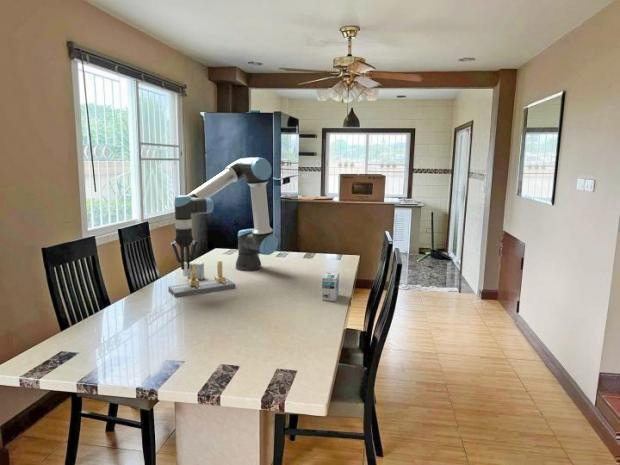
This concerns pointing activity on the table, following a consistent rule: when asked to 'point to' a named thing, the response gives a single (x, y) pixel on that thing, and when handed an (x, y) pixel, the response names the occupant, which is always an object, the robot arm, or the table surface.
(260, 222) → the robot arm
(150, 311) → the table surface
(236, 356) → the table surface
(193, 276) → the gold piece
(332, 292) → the light bulb box
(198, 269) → the medicine box
